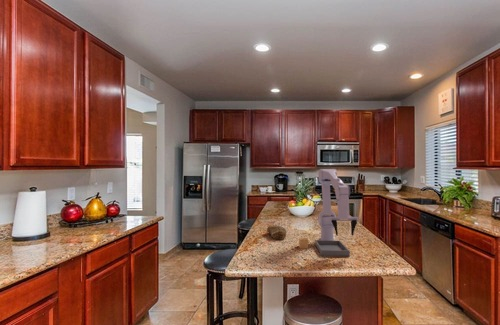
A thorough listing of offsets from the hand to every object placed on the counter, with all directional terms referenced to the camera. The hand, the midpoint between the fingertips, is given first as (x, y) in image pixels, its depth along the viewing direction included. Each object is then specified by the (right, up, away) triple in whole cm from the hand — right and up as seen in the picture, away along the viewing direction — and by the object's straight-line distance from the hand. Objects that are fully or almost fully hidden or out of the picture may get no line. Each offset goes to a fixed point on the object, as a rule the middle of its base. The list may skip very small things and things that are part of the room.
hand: (344, 235), depth 150 cm
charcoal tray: (-5, -10, +8) cm, 14 cm away
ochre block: (-18, -11, +15) cm, 26 cm away
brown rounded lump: (-31, -11, +41) cm, 53 cm away
